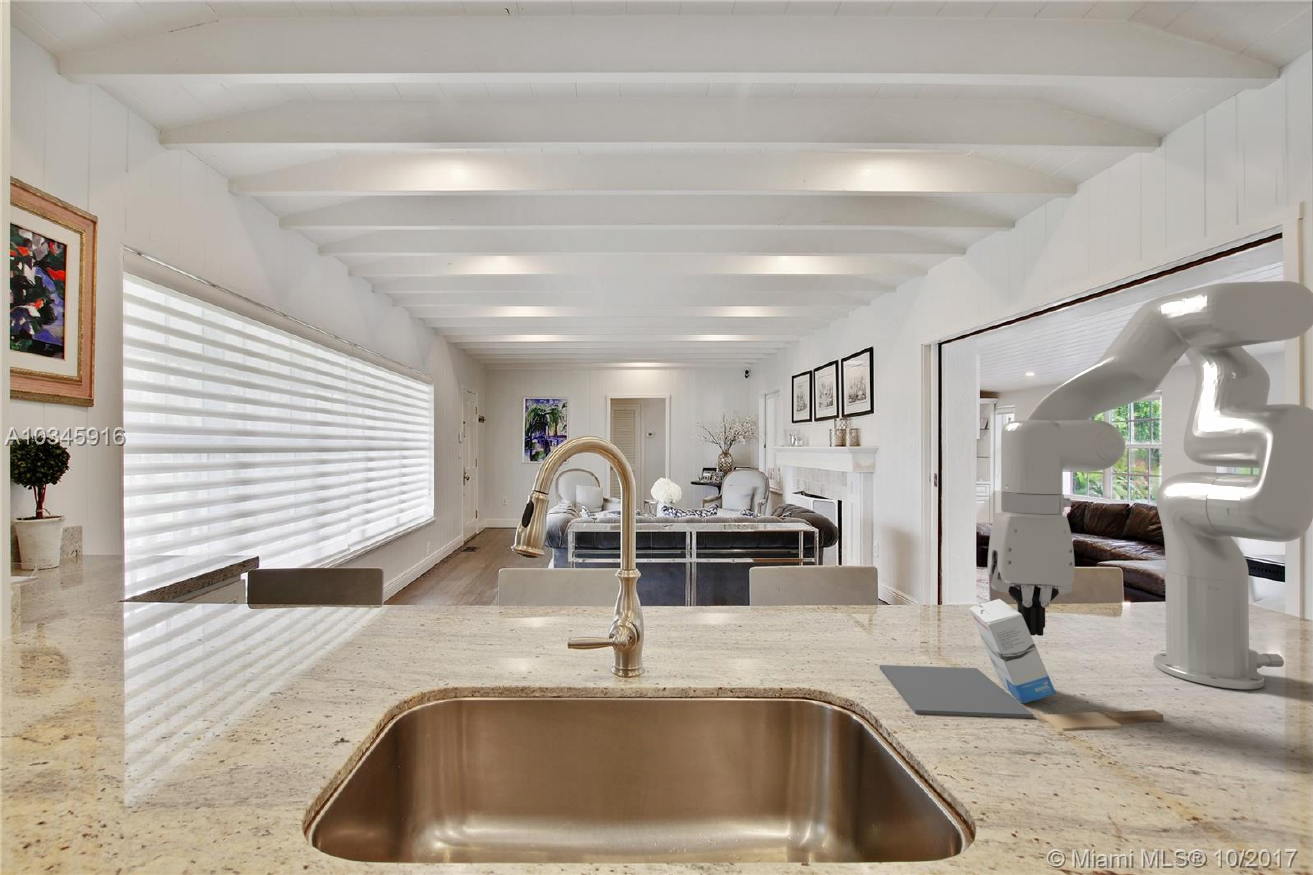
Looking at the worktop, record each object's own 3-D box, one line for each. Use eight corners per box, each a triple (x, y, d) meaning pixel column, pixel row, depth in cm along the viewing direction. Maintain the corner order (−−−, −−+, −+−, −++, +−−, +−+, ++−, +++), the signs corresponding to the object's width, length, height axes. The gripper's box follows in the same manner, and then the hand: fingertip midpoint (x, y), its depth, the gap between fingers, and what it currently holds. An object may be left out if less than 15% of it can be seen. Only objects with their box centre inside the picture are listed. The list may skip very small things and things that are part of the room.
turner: (1145, 712, 78) (1145, 706, 78) (1171, 724, 75) (1171, 718, 75) (1041, 718, 77) (1041, 712, 77) (1062, 731, 73) (1062, 725, 74)
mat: (976, 671, 93) (976, 668, 93) (1033, 718, 77) (1033, 714, 77) (879, 668, 94) (879, 665, 94) (915, 713, 78) (915, 709, 78)
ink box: (1058, 695, 80) (1022, 612, 81) (1021, 705, 81) (986, 623, 82) (1031, 671, 88) (999, 596, 89) (998, 680, 89) (967, 606, 90)
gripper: (1069, 503, 88) (1069, 626, 87) (966, 502, 89) (965, 623, 89) (1103, 509, 80) (1103, 643, 80) (990, 507, 81) (990, 639, 81)
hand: (1031, 632), depth 84 cm, fingers closed
